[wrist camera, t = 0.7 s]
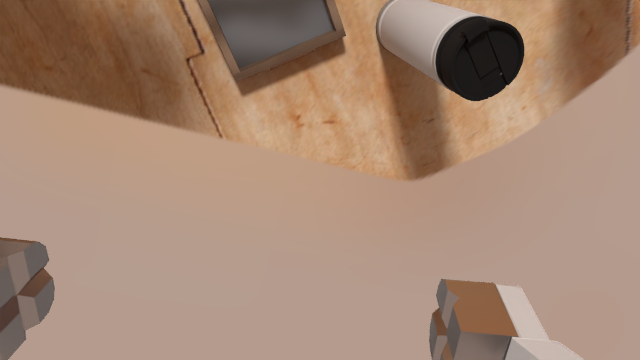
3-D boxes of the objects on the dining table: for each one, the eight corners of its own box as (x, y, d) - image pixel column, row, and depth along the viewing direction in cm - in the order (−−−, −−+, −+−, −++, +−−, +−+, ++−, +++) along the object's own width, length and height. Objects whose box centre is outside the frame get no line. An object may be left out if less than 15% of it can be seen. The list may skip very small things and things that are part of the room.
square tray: (180, -42, 46) (178, -41, 44) (299, -92, 46) (303, -94, 44) (237, 79, 52) (237, 84, 50) (342, 34, 52) (346, 38, 50)
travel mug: (412, -20, 51) (512, -1, 33) (437, 32, 54) (541, 75, 36) (363, 13, 52) (436, 49, 34) (391, 63, 55) (471, 120, 37)
